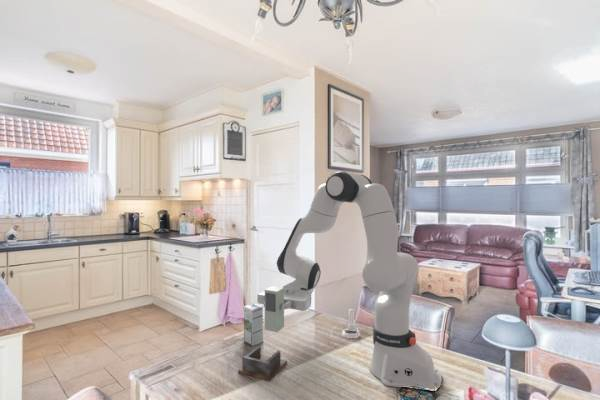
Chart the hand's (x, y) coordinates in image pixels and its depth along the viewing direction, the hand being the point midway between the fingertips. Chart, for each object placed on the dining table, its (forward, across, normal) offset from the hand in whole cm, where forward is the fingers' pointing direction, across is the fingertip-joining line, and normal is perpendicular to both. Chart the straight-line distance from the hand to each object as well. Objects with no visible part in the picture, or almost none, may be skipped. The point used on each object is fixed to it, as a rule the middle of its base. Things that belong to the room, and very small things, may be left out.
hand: (273, 306), depth 111 cm
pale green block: (-1, 0, +8) cm, 8 cm away
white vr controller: (-34, +18, +20) cm, 44 cm away
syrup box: (-11, -16, +20) cm, 28 cm away
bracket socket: (+4, -1, +20) cm, 20 cm away
